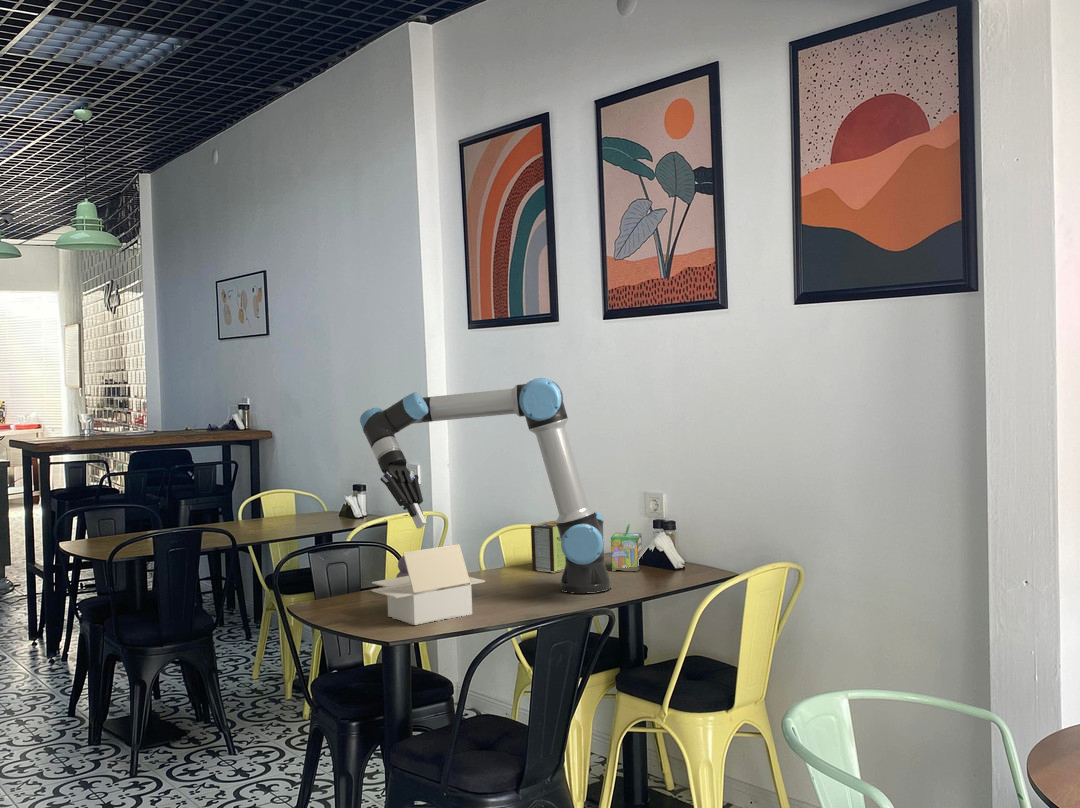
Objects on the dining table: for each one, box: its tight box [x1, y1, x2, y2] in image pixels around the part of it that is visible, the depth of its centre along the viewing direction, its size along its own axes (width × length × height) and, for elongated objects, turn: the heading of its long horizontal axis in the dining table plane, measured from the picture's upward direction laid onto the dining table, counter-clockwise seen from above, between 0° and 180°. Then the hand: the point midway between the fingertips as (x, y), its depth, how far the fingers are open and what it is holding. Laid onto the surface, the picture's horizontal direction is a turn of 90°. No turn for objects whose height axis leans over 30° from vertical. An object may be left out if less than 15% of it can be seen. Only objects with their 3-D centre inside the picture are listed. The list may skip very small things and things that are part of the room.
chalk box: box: [610, 523, 643, 569], centre depth 318 cm, size 9×9×15 cm
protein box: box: [530, 519, 565, 571], centre depth 324 cm, size 10×15×16 cm
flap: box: [402, 543, 470, 593], centre depth 258 cm, size 11×18×1 cm
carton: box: [371, 576, 486, 625], centre depth 265 cm, size 23×28×8 cm
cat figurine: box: [395, 556, 409, 578], centre depth 291 cm, size 8×8×12 cm
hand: (421, 525), depth 264 cm, fingers closed
